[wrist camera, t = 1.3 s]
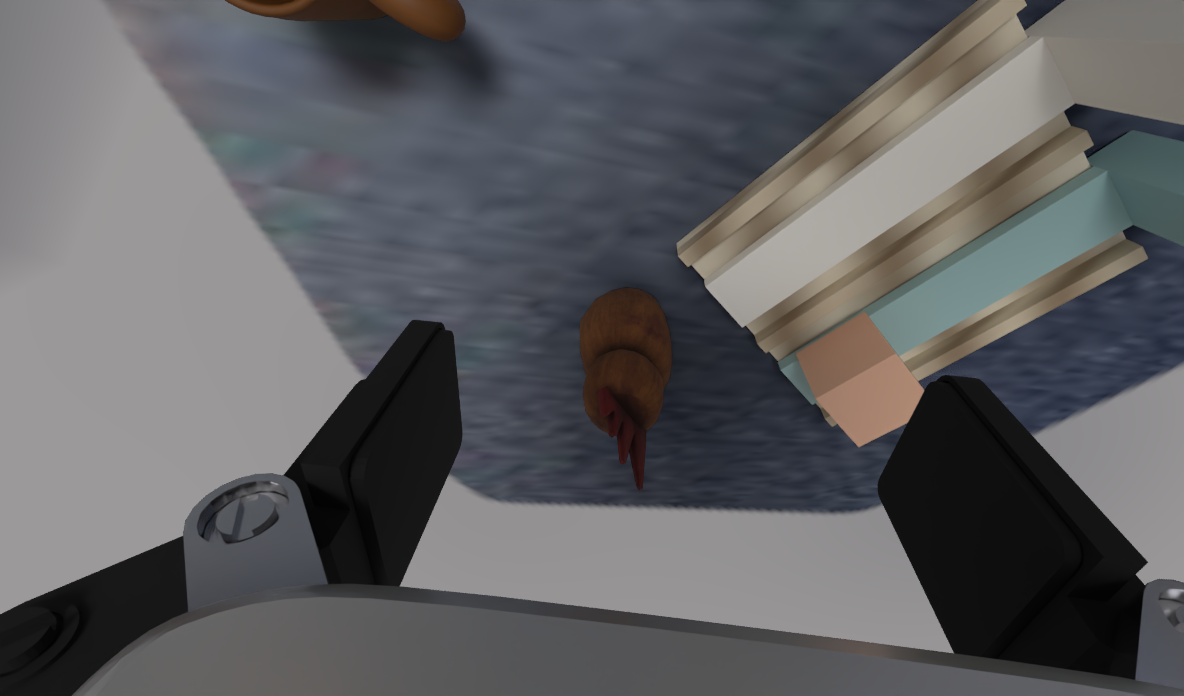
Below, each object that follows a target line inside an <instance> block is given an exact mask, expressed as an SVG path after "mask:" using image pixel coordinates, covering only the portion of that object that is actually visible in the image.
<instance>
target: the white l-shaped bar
mask: <svg viewBox="0 0 1184 696" xmlns="http://www.w3.org/2000/svg"><path fill="white" fill-rule="evenodd" d="M1025 33H1026V35H1027V37H1028V38H1027V39H1026V40H1025V41H1023V42H1022V43H1021V44H1019V45H1018V46H1017V47H1015V48H1014V49H1013V50H1011V51H1010V52H1009V53H1007V54H1006V55H1005V56H1003V57H1002V58H1000V59H999V60H998V61H996V62H995V63H994V64H992V65H991V66H990V67H988V68H987V69H986V70H984V71H983V72H982V73H980V74H979V75H978V76H976V77H975V78H974V79H972V80H971V81H970V82H968V83H967V84H966V85H964V86H963V87H962V88H960V89H959V90H958V91H956V92H955V93H954V94H952V95H951V96H950V97H948V98H947V99H946V100H944V101H943V102H942V103H940V104H939V105H938V106H936V107H935V108H934V109H932V110H931V111H930V112H928V113H927V114H926V115H924V116H923V117H922V118H920V119H919V120H918V121H916V122H915V123H914V124H912V125H911V126H910V127H908V128H907V129H906V130H904V131H903V132H902V133H900V134H899V135H898V136H896V137H895V138H893V139H892V140H891V141H889V142H888V143H887V144H885V145H884V146H883V147H881V148H880V149H879V150H877V151H876V152H875V153H873V154H872V155H871V156H869V157H868V158H867V159H865V160H864V161H863V162H861V163H860V164H859V165H857V166H856V167H855V168H853V169H852V170H851V171H849V172H848V173H847V174H845V175H844V176H843V177H841V178H840V179H839V180H837V181H836V182H835V183H833V184H832V185H831V186H829V187H828V188H827V189H825V190H824V191H823V192H821V193H820V194H819V195H817V196H816V197H815V198H813V199H812V200H811V201H809V202H808V203H807V204H805V205H804V206H803V207H801V208H800V209H799V210H797V211H796V212H795V213H793V214H792V215H791V216H789V217H788V218H786V219H785V220H784V221H782V222H781V223H780V224H778V225H777V226H776V227H774V228H773V229H772V230H770V231H769V232H768V233H766V234H765V235H764V236H762V237H761V238H760V239H758V240H757V241H756V242H754V243H753V244H752V245H750V246H749V247H748V248H746V249H745V250H744V251H742V252H741V253H740V254H738V255H737V256H736V257H734V258H733V259H732V260H730V261H729V262H728V263H726V264H725V265H724V266H722V267H721V268H720V269H718V270H717V271H716V272H714V273H713V274H712V275H710V276H709V277H708V278H706V279H705V280H704V283H705V287H706V288H707V289H708V290H709V292H710V293H711V294H712V295H713V296H714V297H715V298H716V299H717V300H718V302H719V303H720V304H721V305H722V306H723V307H724V308H725V309H726V310H727V312H728V313H729V314H730V315H731V316H732V317H733V318H734V319H735V320H736V321H737V323H738V324H739V325H740V326H741V327H742V328H743V327H744V326H746V325H747V324H749V323H750V322H751V321H753V320H754V319H756V318H757V317H759V316H760V315H762V314H763V313H765V312H766V311H768V310H769V309H771V308H772V307H774V306H775V305H777V304H778V303H780V302H781V301H783V300H784V299H786V298H787V297H789V296H790V295H792V294H793V293H795V292H796V291H797V290H799V289H800V288H802V287H803V286H805V285H806V284H808V283H809V282H811V281H812V280H814V279H815V278H817V277H818V276H820V275H821V274H823V273H824V272H826V271H827V270H829V269H830V268H832V267H833V266H835V265H836V264H838V263H839V262H841V261H842V260H843V259H845V258H846V257H848V256H849V255H851V254H852V253H854V252H855V251H857V250H858V249H860V248H861V247H863V246H864V245H866V244H867V243H869V242H870V241H872V240H873V239H875V238H876V237H878V236H879V235H881V234H882V233H884V232H885V231H887V230H888V229H889V228H891V227H892V226H894V225H895V224H897V223H898V222H900V221H901V220H903V219H904V218H906V217H907V216H909V215H910V214H912V213H913V212H915V211H916V210H918V209H919V208H921V207H922V206H924V205H925V204H927V203H928V202H930V201H931V200H932V199H934V198H935V197H937V196H938V195H940V194H941V193H943V192H944V191H946V190H947V189H949V188H950V187H952V186H953V185H955V184H956V183H958V182H959V181H961V180H962V179H964V178H965V177H967V176H968V175H970V174H971V173H973V172H974V171H976V170H977V169H978V168H980V167H981V166H983V165H984V164H986V163H987V162H989V161H990V160H992V159H993V158H995V157H996V156H998V155H999V154H1001V153H1002V152H1004V151H1005V150H1007V149H1008V148H1010V147H1011V146H1013V145H1014V144H1016V143H1017V142H1019V141H1020V140H1022V139H1023V138H1024V137H1026V136H1027V135H1029V134H1030V133H1032V132H1033V131H1035V130H1036V129H1038V128H1039V127H1041V126H1042V125H1044V124H1045V123H1047V122H1048V121H1050V120H1051V119H1053V118H1054V117H1056V116H1057V115H1059V114H1060V113H1062V112H1063V111H1065V110H1066V109H1068V108H1069V107H1070V106H1072V105H1073V104H1075V103H1076V104H1081V105H1086V106H1091V107H1096V108H1101V109H1106V110H1111V111H1116V112H1121V113H1126V114H1131V115H1136V116H1141V117H1146V118H1151V119H1156V120H1161V121H1166V122H1171V123H1176V124H1181V125H1184V0H1065V1H1063V2H1062V3H1061V4H1060V5H1058V6H1057V7H1056V8H1054V9H1053V10H1052V11H1050V12H1049V13H1048V14H1046V15H1045V16H1044V17H1042V18H1041V19H1040V20H1038V21H1037V22H1036V23H1034V24H1033V25H1032V26H1030V27H1029V28H1028V29H1026V30H1025Z"/></svg>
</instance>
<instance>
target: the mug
mask: <svg viewBox="0 0 1184 696" xmlns="http://www.w3.org/2000/svg"><path fill="white" fill-rule="evenodd" d="M225 1H227V2H228V3H230V4H232V5H234V6H236V7H238V8H240V9H242V10H245V11H247V12H250V13H252V14H257V15H261V16H265V17H274V18H280V19H285V20H295V21H342V20H368V19H376V18H380V17H384V16H387V15H389V16H390V17H392V18H393V19H395V20H396V21H398V22H400V23H401V24H403V25H405V26H406V27H408V28H410V29H412V30H414V31H416V32H418V33H420V34H422V35H424V36H427V37H429V38H432V39H435V40H438V41H453V40H454V39H456V38H457V37H459V36H460V35H461V34H462V32H463V30H464V29H465V23H466V20H465V14H464V10H463V8H462V6H461V4H460V3H459V1H458V0H225Z"/></svg>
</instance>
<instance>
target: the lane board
mask: <svg viewBox="0 0 1184 696" xmlns="http://www.w3.org/2000/svg"><path fill="white" fill-rule="evenodd" d="M1025 6H1027V4H1026V2H1025V0H978V1H976V2H975V3H974V4H973V5H971V6H970V7H969V8H968V9H966V10H965V11H964V12H963V13H961V14H960V15H959V16H958V17H956V18H955V19H954V20H953V21H951V22H950V23H949V24H948V25H947V26H945V27H944V28H943V29H942V30H940V31H939V32H938V33H937V34H935V35H934V36H933V37H932V38H930V39H929V40H928V41H927V42H925V43H924V44H923V45H922V46H920V47H919V48H918V49H917V50H916V51H914V52H913V53H912V54H911V55H909V56H908V57H907V58H906V59H904V60H903V61H902V62H901V63H899V64H898V65H897V66H896V67H894V68H893V69H892V70H891V71H890V72H888V73H887V74H886V75H885V76H883V77H882V78H881V79H880V80H878V81H877V82H876V83H875V84H873V85H872V86H871V87H870V88H868V89H867V90H866V91H865V92H863V93H862V94H861V95H860V96H859V97H857V98H856V99H855V100H854V101H852V102H851V103H850V104H849V105H847V106H846V107H845V108H844V109H842V110H841V111H840V112H839V113H837V114H836V115H835V116H834V117H833V118H831V119H830V120H829V121H828V122H826V123H825V124H824V125H823V126H821V127H820V128H819V129H818V130H816V131H815V132H814V133H813V134H811V135H810V136H809V137H808V138H806V139H805V140H804V141H803V142H802V143H800V144H799V145H798V146H797V147H795V148H794V149H793V150H792V151H790V152H789V153H788V154H787V155H785V156H784V157H783V158H782V159H780V160H779V161H778V162H777V163H775V164H774V165H773V166H772V167H771V168H769V169H768V170H767V171H766V172H764V173H763V174H762V175H761V176H759V177H758V178H757V179H756V180H754V181H753V182H752V183H751V184H749V185H748V186H747V187H746V188H745V189H743V190H742V191H741V192H740V193H738V194H737V195H736V196H735V197H733V198H732V199H731V200H730V201H728V202H727V203H726V204H725V205H723V206H722V207H721V208H720V209H718V210H717V211H716V212H715V213H714V214H712V215H711V216H710V217H709V218H707V219H706V220H705V221H704V222H702V223H701V224H700V225H699V226H697V227H696V228H695V229H694V230H692V231H691V232H690V233H689V234H688V235H686V236H685V237H684V238H683V239H681V240H680V241H679V242H678V243H676V244H677V252H678V257H679V258H680V259H681V260H682V261H683V262H684V263H685V265H686V266H687V267H689V266H690V265H692V266H693V267H694V268H695V270H696V271H697V272H698V273H699V274H700V275H701V276H702V277H703V278H704V280H705V279H706V278H708V277H709V276H710V275H712V274H713V273H714V272H716V271H717V270H718V269H720V268H721V267H722V266H724V265H725V264H726V263H728V262H729V261H730V260H732V259H733V258H734V257H736V256H737V255H738V254H740V253H741V252H742V251H744V250H745V249H746V248H748V247H749V246H750V245H752V244H753V243H754V242H756V241H757V240H758V239H760V238H761V237H762V236H764V235H765V234H766V233H768V232H769V231H770V230H772V229H773V228H774V227H776V226H777V225H778V224H780V223H781V222H782V221H784V220H785V219H786V218H788V217H789V216H791V215H792V214H793V213H795V212H796V211H797V210H799V209H800V208H801V207H803V206H804V205H805V204H807V203H808V202H809V201H811V200H812V199H813V198H815V197H816V196H817V195H819V194H820V193H821V192H823V191H824V190H825V189H827V188H828V187H829V186H831V185H832V184H833V183H835V182H836V181H837V180H839V179H840V178H841V177H843V176H844V175H845V174H847V173H848V172H849V171H851V170H852V169H853V168H855V167H856V166H857V165H859V164H860V163H861V162H863V161H864V160H865V159H867V158H868V157H869V156H871V155H872V154H873V153H875V152H876V151H877V150H879V149H880V148H881V147H883V146H884V145H885V144H887V143H888V142H889V141H891V140H892V139H893V138H895V137H896V136H898V135H899V134H900V133H902V132H903V131H904V130H906V129H907V128H908V127H910V126H911V125H912V124H914V123H915V122H916V121H918V120H919V119H920V118H922V117H923V116H924V115H926V114H927V113H928V112H930V111H931V110H932V109H934V108H935V107H936V106H938V105H939V104H940V103H942V102H943V101H944V100H946V99H947V98H948V97H950V96H951V95H952V94H954V93H955V92H956V91H958V90H959V89H960V88H962V87H963V86H964V85H966V84H967V83H968V82H970V81H971V80H972V79H974V78H975V77H976V76H978V75H979V74H980V73H982V72H983V71H984V70H986V69H987V68H988V67H990V66H991V65H992V64H994V63H995V62H996V61H998V60H999V59H1000V58H1002V57H1003V56H1005V55H1006V54H1007V53H1009V52H1010V51H1011V50H1013V49H1014V48H1015V47H1017V46H1018V45H1019V44H1021V43H1022V42H1023V41H1025V40H1026V39H1027V38H1028V37H1027V35H1026V33H1025V31H1024V29H1023V27H1022V25H1021V23H1020V21H1019V19H1018V17H1017V15H1016V13H1018V12H1019V11H1020V10H1022V9H1023V8H1024V7H1025ZM1093 145H1094V144H1093V142H1092V140H1091V138H1090V136H1089V134H1088V132H1087V130H1084V129H1080V128H1077V127H1073V126H1071V125H1070V123H1069V121H1068V119H1067V117H1066V115H1065V113H1064V111H1063V112H1062V113H1060V114H1059V115H1057V116H1056V117H1054V118H1053V119H1051V120H1050V121H1048V122H1047V123H1045V124H1044V125H1042V126H1041V127H1039V128H1038V129H1036V130H1035V131H1033V132H1032V133H1030V134H1029V135H1027V136H1026V137H1024V138H1023V139H1022V140H1020V141H1019V142H1017V143H1016V144H1014V145H1013V146H1011V147H1010V148H1008V149H1007V150H1005V151H1004V152H1002V153H1001V154H999V155H998V156H996V157H995V158H993V159H992V160H990V161H989V162H987V163H986V164H984V165H983V166H981V167H980V168H978V169H977V170H976V171H974V172H973V173H971V174H970V175H968V176H967V177H965V178H964V179H962V180H961V181H959V182H958V183H956V184H955V185H953V186H952V187H950V188H949V189H947V190H946V191H944V192H943V193H941V194H940V195H938V196H937V197H935V198H934V199H932V200H931V201H930V202H928V203H927V204H925V205H924V206H922V207H921V208H919V209H918V210H916V211H915V212H913V213H912V214H910V215H909V216H907V217H906V218H904V219H903V220H901V221H900V222H898V223H897V224H895V225H894V226H892V227H891V228H889V229H888V230H887V231H885V232H884V233H882V234H881V235H879V236H878V237H876V238H875V239H873V240H872V241H870V242H869V243H867V244H866V245H864V246H863V247H861V248H860V249H858V250H857V251H855V252H854V253H852V254H851V255H849V256H848V257H846V258H845V259H843V260H842V261H841V262H839V263H838V264H836V265H835V266H833V267H832V268H830V269H829V270H827V271H826V272H824V273H823V274H821V275H820V276H818V277H817V278H815V279H814V280H812V281H811V282H809V283H808V284H806V285H805V286H803V287H802V288H800V289H799V290H797V291H796V292H795V293H793V294H792V295H790V296H789V297H787V298H786V299H784V300H783V301H781V302H780V303H778V304H777V305H775V306H774V307H772V308H771V309H769V310H768V311H766V312H765V313H763V314H762V315H760V316H759V317H757V318H756V319H754V320H753V321H751V322H750V323H749V324H747V325H746V326H747V327H748V329H749V330H750V331H751V332H752V333H753V334H754V336H755V339H756V342H757V344H758V345H759V346H760V348H761V349H762V350H763V351H764V352H765V353H767V352H770V353H771V354H772V355H773V356H774V357H775V359H776V360H777V361H778V362H779V361H780V360H782V359H784V358H785V357H787V356H788V355H790V354H792V353H793V352H795V351H796V350H798V349H800V348H801V347H803V346H805V345H806V344H808V343H809V342H811V341H813V340H814V339H816V338H817V337H819V336H821V335H822V334H824V333H826V332H827V331H829V330H830V329H832V328H834V327H835V326H837V325H838V324H840V323H842V322H843V321H845V320H847V319H848V318H850V317H851V316H853V315H855V314H856V313H858V312H859V311H861V310H863V309H864V308H866V307H868V306H869V305H871V304H872V303H874V302H876V301H877V300H879V299H880V298H882V297H884V296H885V295H887V294H888V293H890V292H892V291H893V290H895V289H897V288H898V287H900V286H901V285H903V284H905V283H906V282H908V281H909V280H911V279H913V278H914V277H916V276H918V275H919V274H921V273H922V272H924V271H926V270H927V269H929V268H930V267H932V266H934V265H935V264H937V263H939V262H940V261H942V260H943V259H945V258H947V257H948V256H950V255H951V254H953V253H955V252H956V251H958V250H960V249H961V248H963V247H964V246H966V245H968V244H969V243H971V242H972V241H974V240H976V239H977V238H979V237H981V236H982V235H984V234H985V233H987V232H989V231H990V230H992V229H993V228H995V227H997V226H998V225H1000V224H1001V223H1003V222H1005V221H1006V220H1008V219H1010V218H1011V217H1013V216H1014V215H1016V214H1018V213H1019V212H1021V211H1022V210H1024V209H1026V208H1027V207H1029V206H1031V205H1032V204H1034V203H1035V202H1037V201H1039V200H1040V199H1042V198H1043V197H1045V196H1047V195H1048V194H1050V193H1052V192H1053V191H1055V190H1056V189H1058V188H1060V187H1061V186H1063V185H1064V184H1066V183H1068V182H1069V181H1071V180H1073V179H1074V178H1076V177H1077V176H1079V175H1081V174H1082V173H1084V172H1085V171H1087V170H1089V169H1090V168H1091V166H1090V164H1089V162H1088V160H1087V158H1086V156H1085V154H1084V151H1085V150H1087V149H1088V148H1090V147H1092V146H1093ZM1147 259H1148V257H1147V255H1146V253H1145V251H1144V249H1143V247H1142V246H1141V245H1138V244H1136V243H1134V242H1132V241H1130V240H1128V239H1126V237H1125V235H1124V233H1123V231H1121V232H1120V233H1118V234H1116V235H1114V236H1112V237H1111V238H1109V239H1107V240H1105V241H1104V242H1102V243H1100V244H1098V245H1096V246H1095V247H1093V248H1091V249H1089V250H1087V251H1086V252H1084V253H1082V254H1080V255H1079V256H1077V257H1075V258H1073V259H1071V260H1070V261H1068V262H1066V263H1064V264H1063V265H1061V266H1059V267H1057V268H1055V269H1054V270H1052V271H1050V272H1048V273H1047V274H1045V275H1043V276H1041V277H1039V278H1038V279H1036V280H1034V281H1032V282H1030V283H1029V284H1027V285H1025V286H1023V287H1022V288H1020V289H1018V290H1016V291H1014V292H1013V293H1011V294H1009V295H1007V296H1006V297H1004V298H1002V299H1000V300H998V301H997V302H995V303H993V304H991V305H989V306H988V307H986V308H984V309H982V310H981V311H979V312H977V313H975V314H973V315H972V316H970V317H968V318H966V319H965V320H963V321H961V322H959V323H957V324H956V325H954V326H952V327H950V328H949V329H947V330H945V331H943V332H941V333H940V334H938V335H936V336H934V337H932V338H931V339H929V340H927V341H925V342H924V343H922V344H920V345H918V346H916V347H915V348H913V349H911V350H909V351H908V352H906V353H904V354H902V355H900V358H901V359H902V360H903V362H904V363H905V364H906V366H907V367H908V368H909V370H910V371H911V372H912V374H913V375H914V376H915V378H916V379H917V380H918V381H919V380H921V379H923V378H925V377H927V376H928V375H930V374H932V373H934V372H936V371H938V370H940V369H942V368H944V367H945V366H947V365H949V364H951V363H953V362H955V361H957V360H959V359H960V358H962V357H964V356H966V355H968V354H970V353H972V352H974V351H975V350H977V349H979V348H981V347H983V346H985V345H987V344H989V343H991V342H992V341H994V340H996V339H998V338H1000V337H1002V336H1004V335H1006V334H1007V333H1009V332H1011V331H1013V330H1015V329H1017V328H1019V327H1021V326H1022V325H1024V324H1026V323H1028V322H1030V321H1032V320H1034V319H1036V318H1038V317H1039V316H1041V315H1043V314H1045V313H1047V312H1049V311H1051V310H1053V309H1054V308H1056V307H1058V306H1060V305H1062V304H1064V303H1066V302H1068V301H1069V300H1071V299H1073V298H1075V297H1077V296H1079V295H1081V294H1083V293H1085V292H1086V291H1088V290H1090V289H1092V288H1094V287H1096V286H1098V285H1100V284H1101V283H1103V282H1105V281H1107V280H1109V279H1111V278H1113V277H1115V276H1116V275H1118V274H1120V273H1122V272H1124V271H1126V270H1128V269H1130V268H1132V267H1133V266H1135V265H1137V264H1139V263H1141V262H1143V261H1145V260H1147ZM816 404H817V405H818V406H819V408H820V409H821V411H822V413H823V416H824V418H825V419H826V421H827V422H828V423H829V424H830V425H831V426H832V427H833V426H834V425H836V424H837V422H836V421H835V420H834V419H833V418H832V417H831V416H830V415H829V414H828V412H827V411H826V410H825V409H824V408H823V407H822V406H821V405H820V404H819V402H817V403H816Z"/></svg>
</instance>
